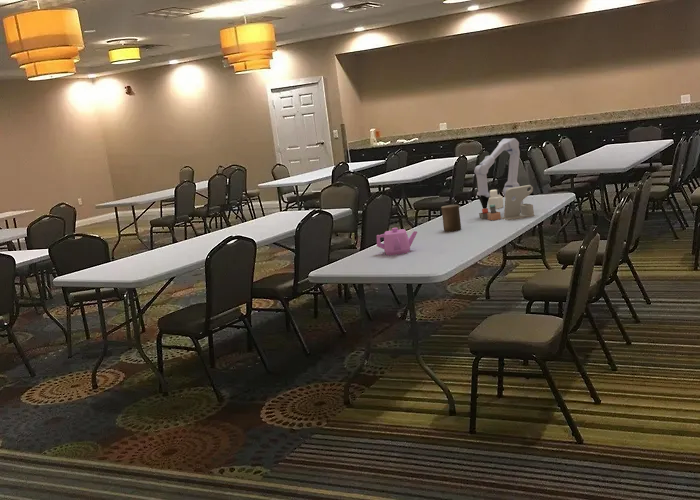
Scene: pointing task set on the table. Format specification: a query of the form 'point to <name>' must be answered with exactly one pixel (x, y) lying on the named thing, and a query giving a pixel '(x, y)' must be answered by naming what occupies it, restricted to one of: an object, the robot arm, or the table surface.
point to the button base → (483, 215)
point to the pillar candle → (451, 217)
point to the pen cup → (494, 216)
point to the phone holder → (517, 203)
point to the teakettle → (396, 241)
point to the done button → (485, 210)
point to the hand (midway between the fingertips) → (484, 208)
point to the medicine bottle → (495, 199)
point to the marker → (492, 208)
